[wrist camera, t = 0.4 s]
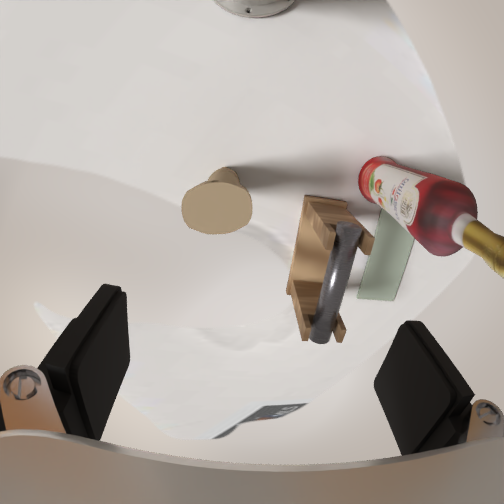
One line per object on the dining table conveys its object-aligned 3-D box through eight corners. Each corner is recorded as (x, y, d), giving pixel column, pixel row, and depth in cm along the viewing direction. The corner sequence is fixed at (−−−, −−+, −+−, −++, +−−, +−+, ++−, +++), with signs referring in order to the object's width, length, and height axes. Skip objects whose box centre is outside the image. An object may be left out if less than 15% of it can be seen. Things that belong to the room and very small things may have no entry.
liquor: (392, 206, 44) (518, 307, 19) (349, 198, 44) (462, 305, 18) (403, 159, 42) (549, 223, 16) (359, 148, 41) (498, 204, 15)
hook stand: (304, 195, 44) (327, 225, 32) (345, 201, 44) (379, 233, 32) (285, 290, 50) (297, 344, 38) (322, 293, 50) (343, 346, 38)
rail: (334, 219, 35) (341, 228, 32) (357, 223, 35) (365, 231, 32) (306, 329, 41) (310, 343, 38) (327, 330, 41) (331, 344, 38)
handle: (250, 194, 43) (253, 232, 30) (203, 196, 43) (184, 235, 30) (248, 159, 42) (251, 180, 28) (200, 162, 41) (179, 185, 28)
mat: (382, 206, 44) (383, 207, 44) (419, 214, 45) (420, 215, 45) (356, 297, 51) (357, 298, 50) (392, 299, 51) (393, 301, 51)
